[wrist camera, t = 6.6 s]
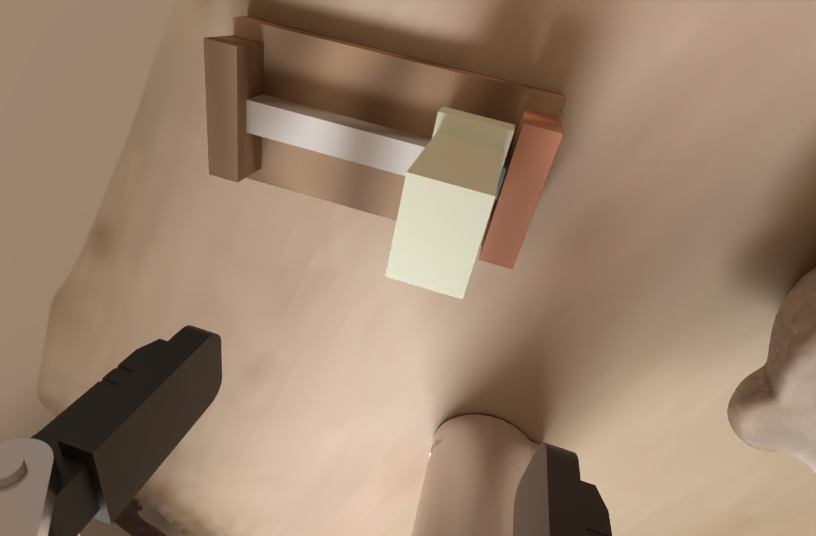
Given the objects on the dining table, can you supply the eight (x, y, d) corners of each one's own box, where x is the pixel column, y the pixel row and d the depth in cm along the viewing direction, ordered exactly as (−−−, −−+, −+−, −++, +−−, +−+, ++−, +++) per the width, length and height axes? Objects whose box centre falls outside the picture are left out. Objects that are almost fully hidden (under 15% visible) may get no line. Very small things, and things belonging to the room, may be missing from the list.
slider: (515, 118, 26) (508, 173, 17) (481, 226, 29) (461, 318, 21) (447, 100, 26) (406, 146, 17) (422, 209, 30) (377, 292, 21)
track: (563, 95, 26) (571, 113, 22) (510, 243, 32) (507, 283, 27) (246, 16, 28) (190, 17, 24) (246, 168, 33) (200, 193, 29)
